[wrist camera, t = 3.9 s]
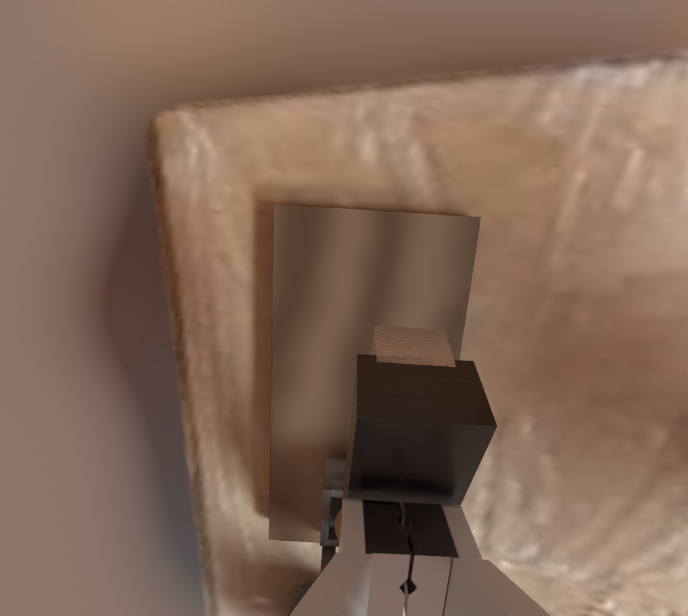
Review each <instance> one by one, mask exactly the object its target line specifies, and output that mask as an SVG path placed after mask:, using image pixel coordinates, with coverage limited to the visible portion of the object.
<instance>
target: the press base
mask: <svg viewBox="0 0 688 616" xmlns="http://www.w3.org/2000/svg"><path fill="white" fill-rule="evenodd" d="M480 219H481V217H468V216H453V215H437V214H422V213H406V212H391V211H376V210H360V209H345V208H330V207H314V206H299V205H283V204H274V231H273V299H272V367H271V435H270V503H269V540H281V541H298V542H314V543H320V546H323V547H322V560H321V572H322V571H323V570H324V568H325V567H326V566H327V564H328V563H329V562H330V560H331V559H332V558H333V556H334V555H335V549H336V547H339V540H338V538H337V536H336V532H335V520H336V516H337V514H338V512H339V511H340V510H341V508H342V498H343V488H344V479H345V469H346V459H347V449H348V439H349V429H350V419H351V409H352V399H353V390H354V380H355V370H356V360H357V354H367V355H371V351H372V343H373V335H374V328H375V325H379V326H394V327H410V328H426V329H442V330H445V332H446V335H447V338H448V342H449V345H450V348H451V352H452V355H453V358H454V360H459V358H460V351H461V344H462V338H463V331H464V325H465V318H466V311H467V305H468V298H469V292H470V285H471V278H472V272H473V265H474V258H475V252H476V245H477V239H478V232H479V225H480ZM321 572H320V574H321Z"/></svg>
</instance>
